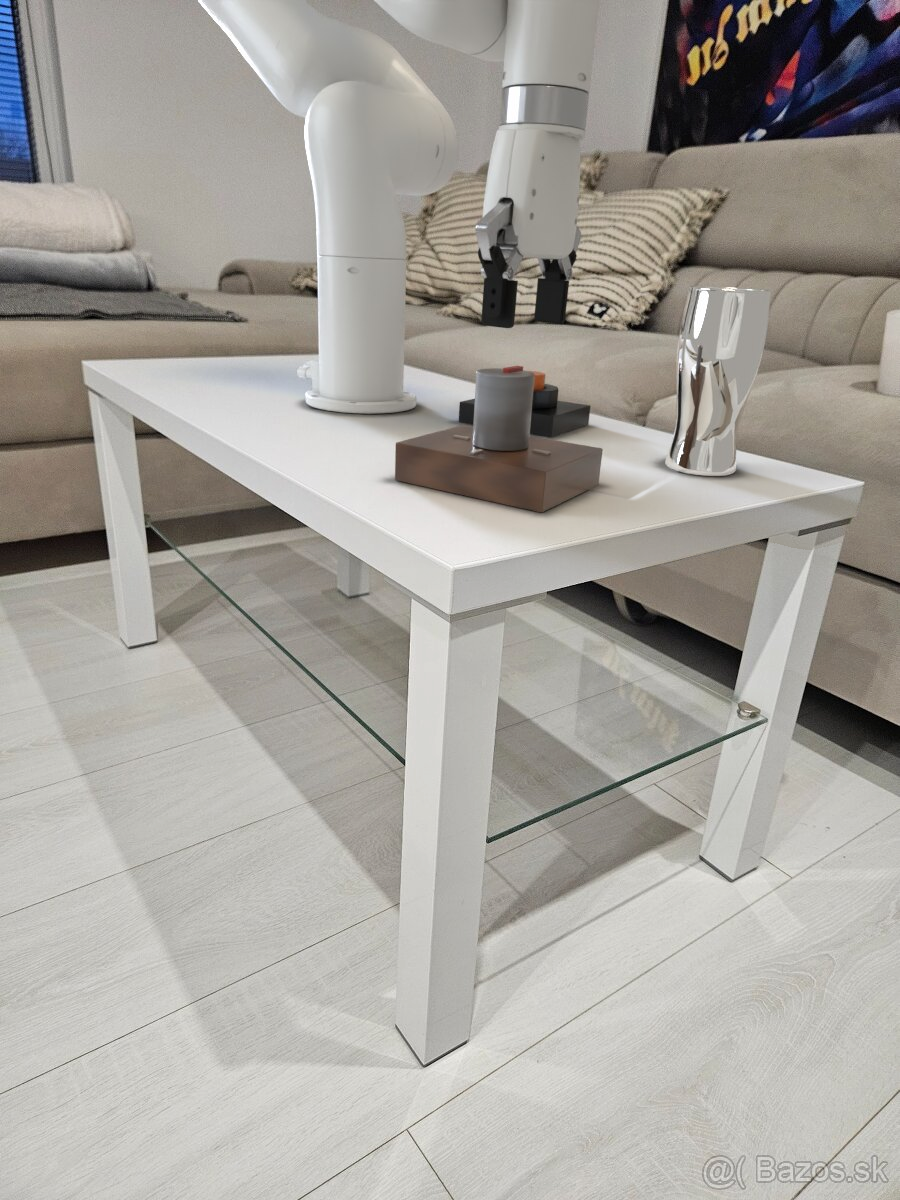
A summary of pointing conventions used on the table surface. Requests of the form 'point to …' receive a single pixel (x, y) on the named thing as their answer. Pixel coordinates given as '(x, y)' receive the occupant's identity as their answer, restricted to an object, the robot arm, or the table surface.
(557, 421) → the button box
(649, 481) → the table surface
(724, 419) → the beer glass
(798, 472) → the table surface
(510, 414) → the knob
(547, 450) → the brown wooden base
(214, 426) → the table surface
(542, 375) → the button
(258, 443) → the table surface
